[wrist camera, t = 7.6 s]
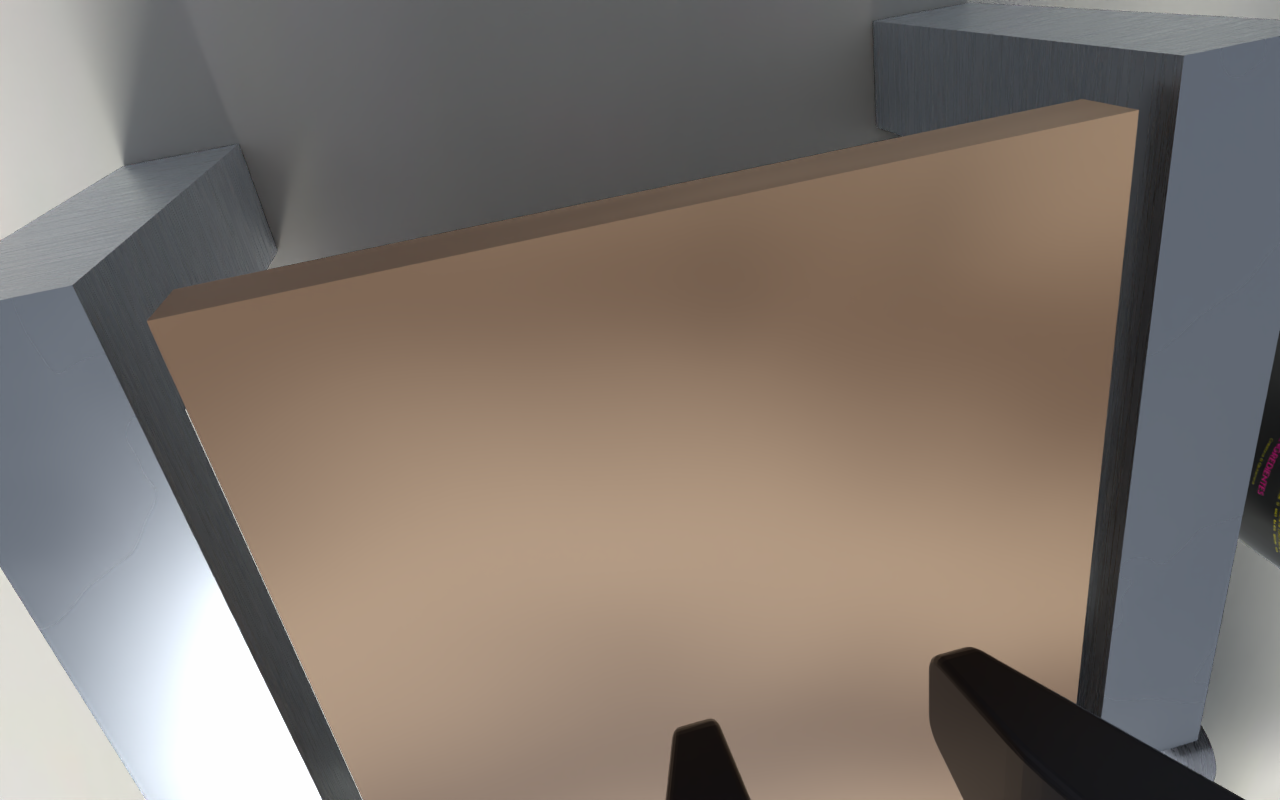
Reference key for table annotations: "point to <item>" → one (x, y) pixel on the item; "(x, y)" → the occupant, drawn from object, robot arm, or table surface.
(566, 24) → the table surface
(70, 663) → the trapdoor stand
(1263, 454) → the supplement container
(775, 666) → the trapdoor
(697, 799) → the robot arm
